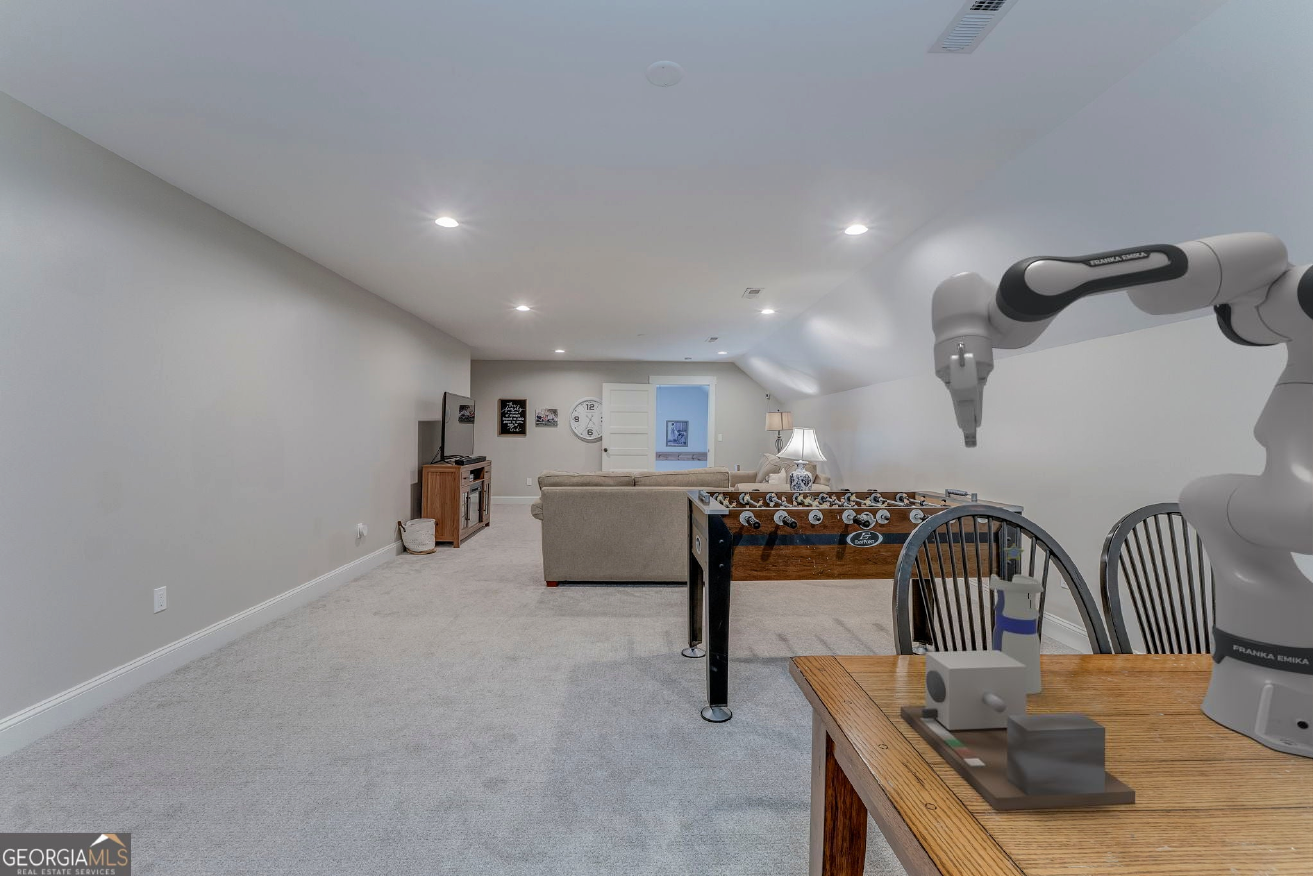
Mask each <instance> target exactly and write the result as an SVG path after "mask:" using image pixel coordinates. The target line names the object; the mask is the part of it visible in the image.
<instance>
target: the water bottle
mask: <svg viewBox="0 0 1313 876" xmlns="http://www.w3.org/2000/svg"><path fill="white" fill-rule="evenodd" d="M1011 545H1012V546H1011V547H1009V548H1003V551H1005V552H1006V553H1008V555H1007V558H1006V560H1012V559H1015V560H1017V561H1020V560H1021V558H1020V557H1021V556H1020V554H1021V553H1023V552H1025V549H1022V548H1021V549H1020V548H1018V547H1017V545H1016V544H1015V543H1013V544H1011ZM988 589H989V590H990V591H995V590H996V596H997V598H996V599H997V600H996V602H995V605H994V606H993V610H994V611H995V613H994V616H995V626H994V628H993V632H992V650H998V651H1000V652H1002V653H1004V654H1006V655H1007V656H1009V657H1011V658H1013V659H1014V660H1016V661H1018V662H1020V663H1022V664H1023V665H1025V666H1026V695H1036V694H1040V693H1042V690H1043V689H1042V676H1041V642H1040V641H1041V640H1040V636H1039V634H1038V631H1037V630H1038V629H1037V627H1038V618H1039V617H1040V613H1039V611H1038V610H1037V607H1036V606H1037V605H1036V597H1037V596H1036V595H1037V594H1040V593H1043V592H1044V591H1045V590H1044V588H1043V585H1042V584H1041V581H1040V580H1039V579H1038V578H1034V577H1032V576H1028V575H1025V574H1018V573H1017V574H1013V576H1012V580H1011V581H1008V580H1002V579H1000V578H999V576H998V575H996V574H994V573H992V574H991V575H990V581H989V586H988ZM1028 593H1029V599H1028ZM1030 600H1031V609H1030Z"/></svg>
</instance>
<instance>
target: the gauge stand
mask: <svg viewBox="0 0 1313 876" xmlns="http://www.w3.org/2000/svg"><path fill="white" fill-rule="evenodd" d="M922 709H926V705H912V706H911V705H909V706H900V717H901V718H902V719H903V720H904V721H905V722H906V723H907V724H908V725H909V726H910V727H911V728H912V729H913V730H914V731H915V732H916V733H917V734H918V735H919V736H921V738H922V739H924V741H925V742H926V743H927V744H929V746H930V747H932V749H933V750H934V751H936V753H938V755H940V756H941V757H942V758H943V759H944V760H945V762H947V763H948V765H950V767H952V768H953V769H954V770H955V771H956V773H958V774H959V775H960V776H961V777H962V779H964V780H965V781H966V782H967V783H968V784H969V785H970V786H971V787H972V788H973V789H974V790H975V791H976V792H978V794H979V795H980V796H981V797H982V798H983V799H984V800H985V802H987V803H988V804H989V805H990V806H991V807H992V808H993V809H995V811H1010V810H1011V811H1013V810H1029V809H1050V808H1051V809H1052V808H1067V807H1069V808H1070V807H1086V806H1105V805H1106V806H1107V805H1108V806H1109V805H1124V804H1125V805H1127V804H1136V790H1134V789H1133V788H1132V787H1130V786H1129V785H1127V784H1126V783H1125V782H1123V781H1121V780H1120V779H1118V778H1117V777H1115V776H1114V775H1112V774H1111V773H1110V772H1108V771H1107V770H1106V726H1103V725H1102V724H1100V723H1099V722H1096V721H1095V720H1094V719H1092V718H1090V717H1089V716H1087V715H1086V714H1083V713H1082V712H1073V713H1070V712H1069V713H1045V714H1044V713H1043V714H1026V715H1014V716H1007V727H1006V728H981V729H957V730H949V729H947V728H946V727H945V726H944V725H943V724H942V723H941V722H940V721H938V720H937V719H936V718H925V719H924V718H923V717H922Z"/></svg>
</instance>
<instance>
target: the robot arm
mask: <svg viewBox="0 0 1313 876" xmlns="http://www.w3.org/2000/svg"><path fill="white" fill-rule="evenodd" d="M1123 291H1126V294H1127V297H1128V298H1129V301H1130V302H1131V303H1132V304H1133V305H1134V306H1135V307H1136V308H1137V309H1138V310H1140V311H1142V312H1143V313H1146V314H1148V315H1151V316H1162V315H1165V316H1166V315H1168V316H1169V315H1175V314H1182V313H1187V312H1192V311H1196V310H1197V311H1198V310H1200V309H1206V308H1210V307H1213V311H1214V313H1215V315H1216V321H1217V326H1218V328H1219V330H1220V331H1221V333H1222V334H1223V336H1224V337H1225V338H1226V339H1228V340H1229V341H1230V342H1232V343H1234V344H1236V345H1240V346H1245V347H1272V346H1276V345H1279V344H1285V345H1286V349H1287V361H1286V364H1285V365H1286V366H1285V367H1284V369H1283V371H1282V372H1281V374H1280V376H1279V377H1278V379H1277V381H1276V383H1275V385H1274V387H1273V389H1272V390H1271V392H1270V395H1269V397H1268V399H1267V401H1266V403H1265V405H1264V406H1263V409H1262V411H1261V413H1260V415H1259V417H1258V418H1257V421H1256V423H1255V425H1254V427H1253V436H1254V438H1255V440H1256V441H1257V443H1258V444H1260V446H1262V447H1263V448H1265V453H1266V456H1265V457H1266V458H1265V465H1264V470H1263V471H1262V473H1261V474H1260V475H1255V474H1244V473H1220V474H1212V475H1208V476H1207V475H1206V476H1202V477H1201V476H1200V477H1198V478H1195V479H1193V480H1191V481H1189V482H1188V483H1187V484H1186V485H1184V487H1183V488H1182V489H1181V492H1180V493H1179V496H1178V509H1179V511H1180V514H1181V516H1182V518H1183V519H1184V520H1185V521H1186V522H1187V523H1188V524H1189V525H1191V527H1192V528H1193V529H1194V530H1195V532H1196V533H1197V535H1198V536H1199V538H1200V539H1199V540H1201V543H1202V545H1203V548H1204V549H1205V552H1206V555H1207V557H1208V560H1209V563H1210V567H1211V570H1212V574H1213V579H1214V589H1215V593H1214V594H1215V624H1213V625H1212V626H1211V632H1210V656H1211V658H1212V659H1211V660H1212V661H1213V664H1212V669H1211V675H1210V680H1209V685H1208V688H1207V691H1206V694H1205V697H1204V698H1203V701H1202V702H1201V704H1200V709H1201V711H1202V712H1203V713H1204V714H1205V716H1207V717H1208V718H1210V719H1212V720H1214V721H1215V722H1217V723H1219V724H1220V725H1222V726H1223V727H1224V726H1225V727H1227V728H1229V729H1231V730H1234V731H1236V732H1238V733H1240V734H1243V735H1245V736H1247V737H1250V738H1252V739H1254V740H1255V741H1257V742H1259V743H1260V744H1262V745H1264V746H1266V747H1268V748H1271V749H1273V750H1276V751H1280V752H1284V753H1288V754H1293V755H1298V756H1304V757H1309V758H1313V582H1312V581H1311V580H1310V579H1309V578H1308V577H1307V576H1306V575H1305V574H1303V572H1302V571H1301V569H1300V568H1299V566H1298V565H1297V563H1296V561H1295V559H1294V557H1293V555H1292V553H1294V554H1300V555H1305V556H1306V555H1307V556H1313V262H1311V263H1308V264H1304V265H1301V266H1297V267H1296V265H1295V264H1293V263H1290V261H1289V254H1288V249H1287V246H1286V245H1285V243H1284V242H1283V240H1281V239H1280V238H1279V237H1277V236H1276V235H1275V234H1272V233H1269V232H1264V231H1245V232H1243V231H1242V232H1236V233H1227V234H1220V235H1218V234H1217V235H1213V236H1208V237H1202V238H1198V239H1194V240H1189V241H1184V242H1181V243H1177V244H1169V243H1167V244H1166V243H1155V244H1146V245H1139V246H1132V247H1126V248H1120V249H1114V250H1109V251H1108V250H1107V251H1102V252H1096V253H1091V254H1084V255H1078V256H1057V255H1056V256H1055V255H1036V256H1030V257H1027V258H1026V257H1025V258H1022V259H1021V260H1019V261H1016V262H1015V263H1013V264H1012V265H1011V266H1010V267H1009V268H1008V269H1007V270H1006V271H1005V272H1004V274H1002V277H1001V279H1000V282H999V284H996V283H993V282H991V281H989V280H986V279H985V278H984V277H982V276H981V274H980V273H978V272H976V271H964V272H959V273H956V274H953V275H951V276H949V277H948V278H946V279H944V280H943V281H941V282H940V283H939V285H938V286H937V287H936V288H935V290H934V292H933V295H932V298H931V328H932V329H931V330H932V332H933V334H934V337H935V338H934V339H935V340H934V346H933V359H934V370H935V371H934V372H935V373H934V374H935V376H936V377H937V378H938V379H940V381H942V383H943V384H944V385H945V388H946V390H948V391H949V394H950V397H951V400H952V401H951V402H952V405H953V411H954V415H955V419H956V422H957V423H956V424H957V425H958V428H959V429H961V430H962V433H963V439H964V447H965V448H967V449H970V448H971V449H972V448H973V449H974V448H976V447H977V445H978V441H977V440H978V439H977V431H978V429H977V428H981V426H982V420H983V403H984V401H983V399H984V389H985V386H986V385H987V382H988V378H989V376H990V374H991V373H992V372H993V370H994V369H995V363H994V362H995V361H994V354H993V353H994V352H993V349H999V350H1018V349H1021V348H1025V347H1028V346H1030V345H1032V344H1033V343H1035V341H1036V340H1037V339H1038V338H1039V337H1040V336H1041V335H1043V333H1044V332H1045V331H1046V330H1047V329H1048V327H1050V324H1052V322H1053V321H1054V320H1055V319H1056V318H1057V317H1058V315H1060V313H1062V312H1063V311H1064V310H1065V309H1067V308H1068V307H1069V306H1071V305H1072V304H1074V303H1075V302H1077V301H1079V300H1081V299H1084V298H1089V297H1092V296H1100V295H1105V294H1113V293H1116V292H1123Z"/></svg>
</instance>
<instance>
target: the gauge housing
mask: <svg viewBox="0 0 1313 876" xmlns="http://www.w3.org/2000/svg"><path fill="white" fill-rule="evenodd" d="M925 706H926V709H922V717H923V718H924V719H925V718H936V719H937V720H938V721H940V722H941V723H942V724H943V725H944V726H945V727H946V728H947V729H949V730H957V729H981V728H1006V727H1007V716H1014V715H1027V694H1026V666H1025V665H1023V664H1022V663H1020V662H1018V661H1016V660H1014V659H1013V658H1011V657H1009V656H1007V655H1006V654H1004V653H1002V652H1000V651H998V650H993V649H992V650H990V649H989V650H961V651H957V650H956V651H955V650H954V651H932V652H931V651H929V652H928V651H927V652H925Z"/></svg>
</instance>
